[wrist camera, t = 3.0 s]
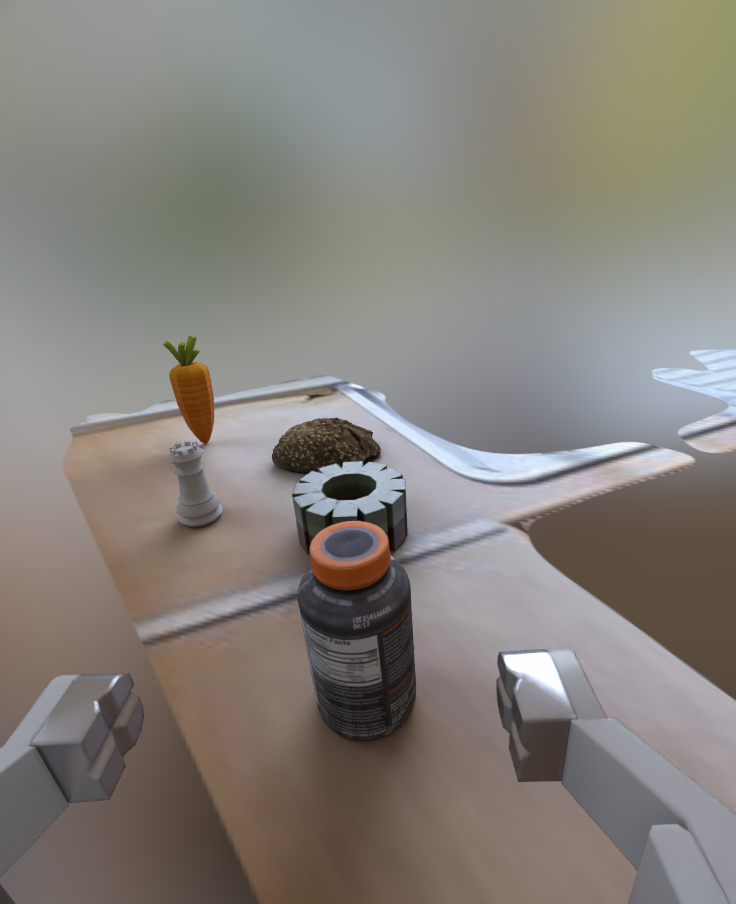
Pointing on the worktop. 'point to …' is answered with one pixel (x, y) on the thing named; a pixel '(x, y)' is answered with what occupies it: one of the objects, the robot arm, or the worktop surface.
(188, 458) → the rook chess piece
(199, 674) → the worktop surface
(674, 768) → the robot arm
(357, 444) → the bread roll
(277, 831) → the worktop surface
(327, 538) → the pill bottle
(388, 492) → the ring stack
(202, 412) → the carrot
